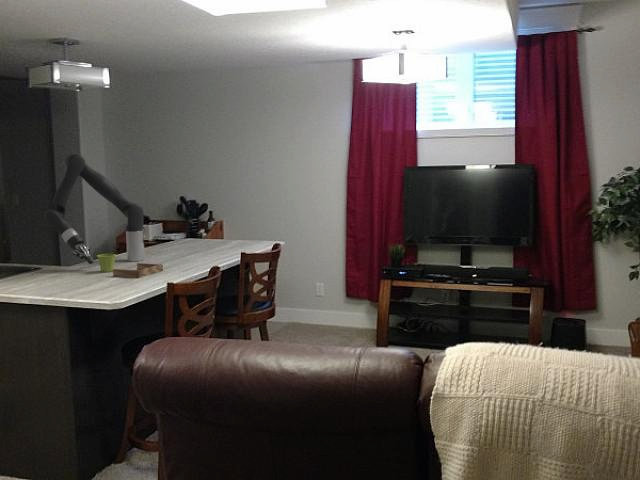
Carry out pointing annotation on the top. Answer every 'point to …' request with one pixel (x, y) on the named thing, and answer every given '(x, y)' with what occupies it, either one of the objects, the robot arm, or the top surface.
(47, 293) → the top surface
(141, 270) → the wooden u bracket
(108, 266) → the plant pot
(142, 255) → the robot arm
